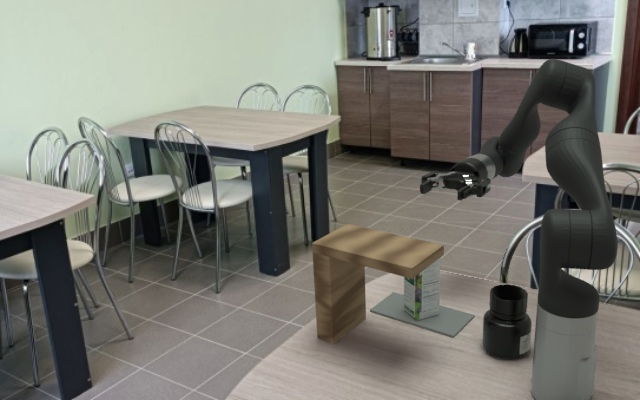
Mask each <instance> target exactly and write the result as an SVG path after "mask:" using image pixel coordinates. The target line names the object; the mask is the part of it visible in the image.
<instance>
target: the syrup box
mask: <svg viewBox="0 0 640 400" xmlns="http://www.w3.org/2000/svg"><path fill="white" fill-rule="evenodd" d="M440 282H441V257H440V258H439V259H438V260H436V261H435V262H434V263H432V264H431V265H430V266H428V267H427V268H426V269H425V270H423V271H422V272H421V273H419V274H418V275H417V276H415V277H414V278H413V279H411V278H407V277H403V295H404V310H405V311H406V312H408V313H409V314H410V315H411V316H412V317H414V318H415V319H416V320H417V321H418V320H422V319H425V318H428V317H432V316H435V315H438V314H439V305H440V293H441V292H440V290H441V288H440V287H441V283H440Z"/></svg>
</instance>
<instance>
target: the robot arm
mask: <svg viewBox="0 0 640 400" xmlns="http://www.w3.org/2000/svg"><path fill="white" fill-rule="evenodd" d="M521 99H522V100H521V102H520V103H519V106H518V108H517V110H516V112H515V114H514V116H513V117H512V119H511V120H510V121H509V123H507V125H506V126H505V128H504V129H503V130H502V132H501V133H500V135H499V136H492V137H490V138H489V139H487V140H486V141H485V142H484V143H483V145H482V146H481V148H480V151H479V152H478V153H476V154H474V155H470V156H468V157H466V158H464V159H463V160H461V161H459V162H457V163H455V164H454V165H453V166H452V167H451V169H450V170H449V172H447V173H440V174H439V171H437V170H433V171H431V172H428V173H426V174H424V175H421V182H420V183H421V184H419V192H420V194H421V195H426V194H428V193H429V192H431V191H432V190H433V191H434V190H437V191H439V192H443V191H457V199H456V200H457V201H463V200H464V199H465V200H466V199H467V198H471V197H474V196H475V195H476V197H477V198H483V197H484V196H485V195H486V194H487V193H489V192H490V191H491V186H492V180H494V179H495V178H497V177H498V176H500V177H502V178H510V177H512V176H515V175H516V174H517V173H518V172H519V170H520V169H521V167H522V165H523V163H524V161H525V157H526V153H527V150H528V149H529V147H531V146H532V144H533V143H534V142H535V141H536V139H538V137H539V135H540V132H541V118H540V113H539V109H538V105H539V104H542V105H545V106H548V107H550V108H554V109H558V110H561V111H564V112H566V113H567V114H568V116H567V115H566V117H564V118H563V119H561V120H559V122H558V123H556V124H555V125H554V126H553V127H552V128H551V130H550V131H548V134H547V136H546V139H545V144H544V150H545V151H544V152H545V166H546V171H547V173H548V174H549V176H550V177H551V179H552V180H553V181H554V183H556V185H558V187H559V189H560V188H561V190H562V191H564V192H565V194H567V195H568V196H569V197H570V198H571V199H573V201H574V202H576V203H577V205H579V207H580V209H567V208H550V209H548V210H546V212H544V214H543V216H542V219H541V223H540V224H541V225H540V232H539V233H540V235H539V236H540V237H539V239H540V240H539V243H540V244H539V249H540V250H539V256H540V257H539V276H538V277H539V279H538V289H537V290H538V291H537V303H536V314H535V315H536V316H535V329H534V330H535V331H534V342H533V343H534V344H533V357H532V359H533V360H532V373H531V380H530V381H531V389H530V391H531V395H532V397H533V398H534V399H535V400H591V398H592V397H593V394H594V393H593V392H594V384H595V383H594V382H595V374H596V366H597V357H598V349H599V348H598V346H597V345H596V344H595V343H596V334H597V324H598V316H599V308H600V299H601V298H600V293H599V291H598V290H597V288H596V287H594V285H593V284H591V283H590V282H587V281H586V280H584V279H581V278H578V277H576V276H574V275H572V274H570V273H568V272H566V271H565V270H564V269H574V270H589V271H598V270H599V271H600V270H601V271H602V270H607V269H610V268H611V267H612V266H613V264H614V263H615V260H616V259H617V253H618V234H617V229H616V223H615V219H614V214H613V212H612V207H611V204H610V200H609V196H608V193H607V189H606V183H605V176H604V175H605V174H604V167H603V166H604V165H603V164H604V163H603V155H602V148H601V142H600V137H599V133H598V126H597V117H596V80H595V75H594V73H593V71H591V70H590V69H588V68H586V67H584V66H581V65H579V64H575V63H574V64H573V63H571V62H567V61H564V60H561V59H558V58H557V59H555V58H549V59H547V60H545V61H544V62H543V63H542V64H541V65H540V67H539V68H538V69H537V71H536V73H535V74H534V76H533V77H532V80H531V81H530V84H529V86H528V88H527V90H526V92H525V93H524V96H523V97H522V98H521ZM442 184H443V185H442Z"/></svg>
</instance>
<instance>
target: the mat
mask: <svg viewBox="0 0 640 400" xmlns="http://www.w3.org/2000/svg"><path fill="white" fill-rule="evenodd" d="M369 312H370V313H374V314H377V315H380V316H383V317H386V318H389V319H392V320H395V321H400V322H403V323H405V324H409V325H411V326H414V327H417V328H418V327H419V328H422V329H425V330H427V331H431V332H434V333H438V334H440V335H442V336H443V335H444V336H447V337H450V338H455V337H456V336H458V334H459V333H460V332H462V330H463V329H464V328H465V327H466V326H467V325H468V324H469V323H470V322H471V321H472V320H473V319H474V318H475V316H476V315H475V314H472V313H469V312H466V311H463V310H457V309H454V308H451V307H447V306H445V305H441V304H439V314H438V315H435V316H432V317H428V318H425V319H422V320H418V321H417V320H416V319H415V318H414V317H412V316H411V315H410V314H409V313H408V312H406V311H405V310H404V294H402V293H399V292H394V291H392V292H391V293H389V295H387V296H385V298H384V299H382V300H381V301H380V302H378V303H377V304H376V305H374V306H373V307H371V308H370V309H369Z"/></svg>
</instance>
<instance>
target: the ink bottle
mask: <svg viewBox="0 0 640 400" xmlns="http://www.w3.org/2000/svg"><path fill="white" fill-rule="evenodd" d="M528 295H529V293H528V292H527V290H526V289H524V288H522V287H521V286H518V285H515V284H514V285H513V284H497V285H494V286H493V287H492V288H490V292H489V305H488V306H489V309H488V310H486V311H485V312H484V314H483V319H482V341H481V342H482V347H483V349H484V351H486V353H487V354H489V355H491V356H492V357H495V358H498V359H503V360H519V359H522V358H524V357H527V356H528V354H529V353H530V350H531V341H532V322H533V321H532V319H531V317H530V315H529V314H528V313H527V308H528V297H529V296H528Z"/></svg>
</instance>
